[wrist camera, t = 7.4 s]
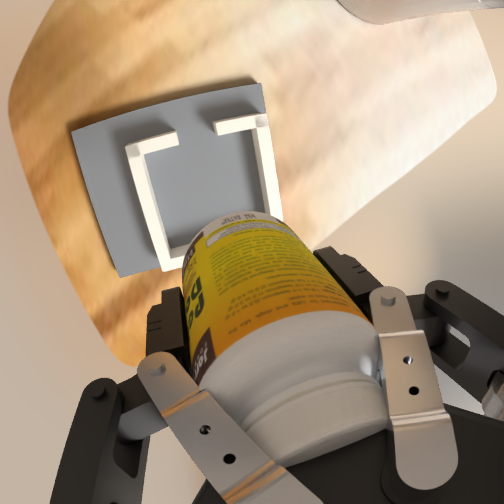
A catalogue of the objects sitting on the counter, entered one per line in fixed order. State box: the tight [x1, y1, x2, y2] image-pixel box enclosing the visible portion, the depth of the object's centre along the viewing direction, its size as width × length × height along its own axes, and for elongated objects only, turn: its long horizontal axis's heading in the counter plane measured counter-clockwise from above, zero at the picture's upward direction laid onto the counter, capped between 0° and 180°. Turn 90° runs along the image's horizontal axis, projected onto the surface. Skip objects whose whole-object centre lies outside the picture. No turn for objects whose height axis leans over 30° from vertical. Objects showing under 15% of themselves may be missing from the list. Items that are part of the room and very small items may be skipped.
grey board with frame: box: [71, 83, 283, 278], centre depth 26 cm, size 16×14×3 cm
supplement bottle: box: [182, 211, 387, 468], centre depth 11 cm, size 6×6×10 cm
